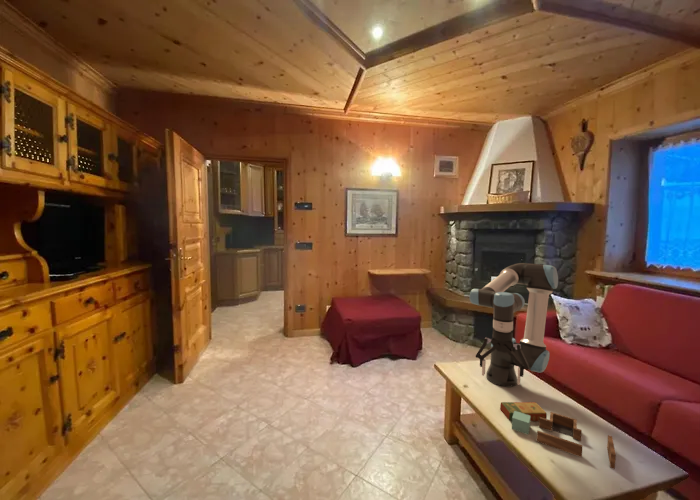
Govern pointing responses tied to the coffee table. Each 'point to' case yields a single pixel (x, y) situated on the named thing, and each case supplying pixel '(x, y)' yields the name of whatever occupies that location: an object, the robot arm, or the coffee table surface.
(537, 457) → the coffee table surface
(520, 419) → the block
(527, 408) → the carton
